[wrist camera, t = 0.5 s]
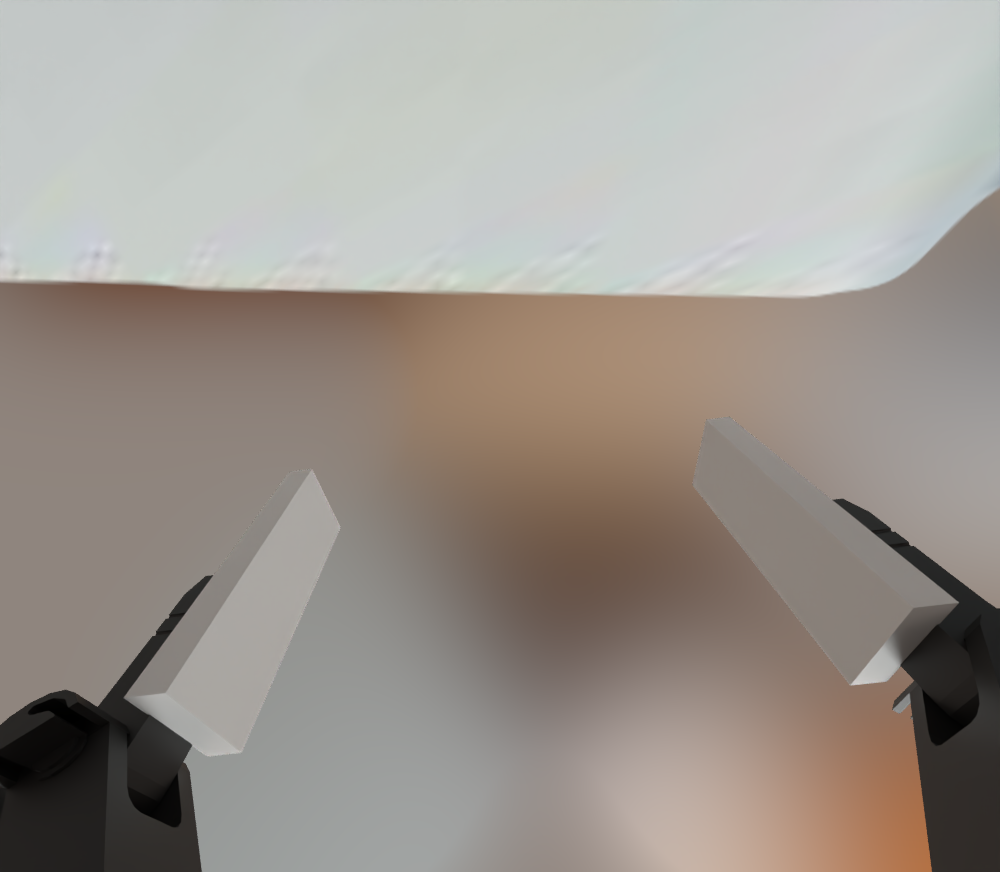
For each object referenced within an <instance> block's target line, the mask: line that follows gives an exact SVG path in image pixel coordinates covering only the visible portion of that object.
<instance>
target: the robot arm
mask: <svg viewBox="0 0 1000 872" xmlns="http://www.w3.org/2000/svg"><path fill="white" fill-rule="evenodd" d="M693 486H694V487H695V489H696V490H697V491H698V492H699V494H700V495H701V496H702V498H703V499H704V500H705V501H706V503H707V504H708V505H709V507H710V508H711V509H712V510H713V512H714V513H715V514H716V515H717V517H718V518H719V519H720V521H721V522H722V523H723V524H724V525H725V527H726V528H727V529H728V531H729V532H730V533H731V534H732V536H733V537H734V538H735V540H736V541H737V542H738V543H739V545H741V547H742V548H743V550H744V551H745V552H746V553H747V555H748V556H749V557H750V559H751V560H752V561H753V562H754V564H755V565H756V566H757V568H758V569H759V570H760V571H761V573H762V574H763V575H764V576H765V578H766V579H767V580H768V581H769V583H770V584H771V585H772V586H773V588H774V589H775V590H776V592H777V593H778V594H779V595H780V597H781V598H782V599H783V601H784V602H785V603H786V604H787V606H788V607H789V608H790V609H791V611H792V612H793V613H794V615H795V616H796V617H797V618H798V620H799V621H800V622H801V623H802V625H803V626H804V627H805V629H807V631H808V632H809V634H810V635H811V636H812V637H813V639H814V640H815V641H816V642H817V644H818V645H819V646H820V648H821V649H822V650H823V651H824V653H825V654H826V655H827V656H828V658H829V659H830V660H831V662H832V663H833V664H834V665H835V667H836V668H837V669H838V670H839V672H840V673H841V674H842V675H843V677H844V678H845V679H846V681H847V682H848V683H849V684H850V685H858V684H868V683H876V682H886V681H888V680H889V679H890V678H891V676H892V675H893V674H894V673H895V672H896V671H897V670H898V669H899V668H900V667H902V668H903V669H904V670H905V671H906V672H907V673H908V674H909V675H910V676H911V677H912V678H913V679H914V682H913V683H912V684H911V685H910V686H909V687H908V688H907V689H906V690H905V691H904V692H903V693H902V694H901V695H900V696H899V697H898V698H897V699H896V700H895V701H894V704H893V709H892V710H894V711H896V712H898V713H901V712H902V711H903V710H904V709H905V708H906V707H907V706H908V705H909V704H910V703H911V709H912V716H911V719H913V724H914V733H915V740H916V748H917V756H918V764H919V771H920V780H921V788H922V796H923V802H924V811H925V819H926V827H927V835H928V843H929V850H930V859H931V867H932V872H1000V609H997V608H995V607H994V606H992V605H991V604H989V603H988V602H987V601H985V600H984V599H982V598H981V597H980V596H978V595H977V594H976V593H975V592H973V591H972V590H971V589H969V588H968V587H967V586H965V585H964V584H963V583H962V582H960V581H959V580H958V579H956V578H955V577H954V576H952V575H951V574H950V573H948V572H947V571H946V570H945V569H943V568H942V567H941V566H939V565H938V564H937V563H935V562H934V561H933V560H931V559H930V558H929V557H927V556H926V555H925V554H924V553H922V552H921V551H920V550H918V549H917V548H916V547H914V546H910V545H909V542H908V541H907V540H905V539H904V538H903V537H901V536H900V535H899V534H897V533H896V532H892V531H891V528H889V527H888V526H887V525H886V524H884V523H883V522H882V521H880V520H879V519H878V518H876V517H875V516H874V515H873V514H871V513H870V512H868V511H866V510H864V509H862V508H860V507H858V506H856V505H854V504H852V503H850V502H848V501H846V500H844V499H836V500H832V499H831V498H829V497H828V496H827V495H826V494H824V493H823V492H822V491H821V490H819V489H818V488H817V487H816V486H814V485H813V484H812V483H811V482H809V481H808V480H807V479H806V478H805V477H803V476H802V475H801V474H800V473H798V472H797V471H796V470H795V469H794V468H792V467H791V466H790V465H789V464H787V463H786V462H785V461H784V460H782V459H781V458H780V457H779V456H777V455H776V454H775V453H774V452H772V451H771V450H770V449H769V448H768V447H766V446H765V445H764V444H762V443H761V442H760V441H759V440H758V439H756V438H755V437H754V436H753V435H752V434H750V433H749V432H748V431H746V430H745V429H744V428H743V427H742V426H740V425H739V424H738V423H737V422H735V421H734V420H733V419H732V418H731V417H724V418H717V419H708V420H706V423H705V428H704V433H703V437H702V442H701V447H700V452H699V456H698V461H697V466H696V470H695V475H694V480H693ZM339 530H340V525H339V524H338V521H337V519H336V517H335V515H334V513H333V511H332V509H331V507H330V505H329V503H328V501H327V499H326V497H325V495H324V493H323V491H322V489H321V487H320V484H319V482H318V480H317V478H316V476H315V474H314V472H313V470H312V469H307V470H299V471H291V472H289V473H288V475H287V476H286V477H285V478H284V480H283V481H282V483H281V484H280V485H279V487H278V488H277V489H276V491H275V492H274V494H273V495H272V496H271V498H270V499H269V500H268V502H267V503H266V504H265V506H264V507H263V508H262V510H261V511H260V513H259V514H258V516H257V517H256V518H255V519H254V521H253V522H252V523H251V525H250V526H249V528H248V529H247V530H246V532H245V533H244V534H243V536H242V537H241V538H240V540H239V541H238V543H237V544H236V545H235V547H234V548H233V549H232V551H231V552H230V553H229V555H228V556H227V558H226V559H225V560H224V562H223V563H222V564H221V566H220V567H219V568H218V570H217V571H216V573H215V574H214V575H212V576H205V577H204V578H203V579H202V580H201V581H200V582H199V583H197V584H196V585H195V586H194V587H193V588H192V589H190V590H189V591H188V592H187V593H186V594H185V595H184V596H183V597H182V599H181V600H180V601H179V603H178V604H177V605H176V606H175V608H174V609H173V610H172V612H171V613H170V614H169V616H170V617H169V618H168V619H165V621H164V622H163V623H162V625H161V626H160V627H159V629H158V630H157V631H156V636H152V638H151V639H150V640H149V641H148V643H147V644H146V645H145V647H144V648H143V649H142V650H141V652H140V653H139V654H138V656H137V657H136V658H135V660H134V661H133V662H132V664H131V665H130V666H129V667H128V669H127V670H126V672H125V673H124V674H123V675H122V677H121V678H120V679H119V680H118V682H117V683H116V684H115V685H114V687H113V688H112V689H111V691H110V692H109V693H108V695H107V696H106V697H105V698H104V700H103V701H102V702H101V704H100V705H99V706H98V707H97V706H95V705H93V704H92V703H90V702H89V701H87V700H85V699H84V698H82V697H81V696H79V695H78V694H76V693H74V692H71V691H68V690H63V691H58V692H54V693H50V694H48V695H46V696H44V697H42V698H39V699H37V700H36V701H33V702H31V703H30V704H28V705H27V706H25V707H24V708H22V709H21V710H19V711H18V712H16V713H15V714H13V715H12V716H10V717H9V718H8V719H7V720H6V721H5V722H4V723H2V724H1V725H0V872H202V870H201V862H200V854H199V846H198V838H197V830H196V821H195V812H194V804H193V796H192V789H191V788H192V787H191V780H190V772H189V770H188V768H187V765H186V764H185V763H183V761H184V759H185V758H186V756H187V754H188V752H189V750H190V748H191V747H192V746H193V747H194V748H196V749H197V750H199V751H200V752H201V753H203V754H204V755H206V756H216V755H225V754H234V753H241V752H242V750H243V748H244V746H245V743H246V741H247V739H248V737H249V734H250V732H251V730H252V728H253V725H254V723H255V721H256V719H257V716H258V714H259V712H260V709H261V707H262V705H263V703H264V700H265V698H266V696H267V694H268V691H269V689H270V687H271V685H272V682H273V680H274V678H275V675H276V673H277V671H278V669H279V666H280V664H281V662H282V659H283V657H284V655H285V653H286V650H287V648H288V646H289V644H290V641H291V639H292V637H293V635H294V632H295V630H296V628H297V625H298V623H299V621H300V619H301V616H302V614H303V612H304V610H305V607H306V605H307V603H308V600H309V598H310V596H311V594H312V591H313V589H314V587H315V585H316V582H317V580H318V578H319V575H320V573H321V571H322V569H323V566H324V564H325V562H326V559H327V557H328V555H329V552H330V550H331V548H332V546H333V544H334V541H335V539H336V537H337V534H338V532H339Z"/></svg>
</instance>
